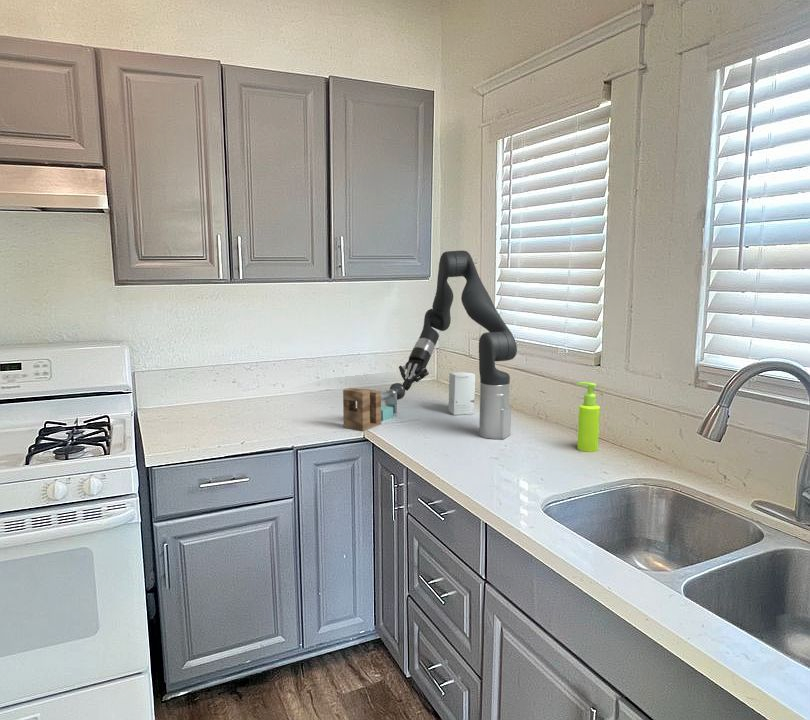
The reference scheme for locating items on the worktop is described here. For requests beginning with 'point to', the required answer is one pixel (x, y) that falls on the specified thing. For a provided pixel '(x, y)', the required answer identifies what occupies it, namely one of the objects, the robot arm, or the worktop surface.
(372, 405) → the bearing stand
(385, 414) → the block
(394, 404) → the shaft
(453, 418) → the worktop surface
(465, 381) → the skincare box
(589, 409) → the soap dispenser
